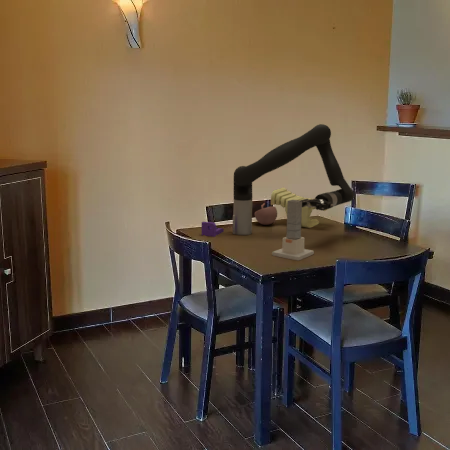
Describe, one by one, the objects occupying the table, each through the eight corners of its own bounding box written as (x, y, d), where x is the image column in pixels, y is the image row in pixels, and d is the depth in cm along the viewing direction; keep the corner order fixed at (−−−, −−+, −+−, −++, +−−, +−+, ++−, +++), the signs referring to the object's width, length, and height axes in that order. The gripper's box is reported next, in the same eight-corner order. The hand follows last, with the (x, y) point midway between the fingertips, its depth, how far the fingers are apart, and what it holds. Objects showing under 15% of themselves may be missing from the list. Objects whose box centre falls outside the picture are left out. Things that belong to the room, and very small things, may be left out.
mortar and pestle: (267, 221, 315) (267, 200, 313) (281, 225, 306) (282, 204, 303) (249, 224, 308) (250, 202, 306) (264, 228, 299) (264, 206, 296)
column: (294, 253, 245) (296, 202, 240) (285, 251, 248) (287, 200, 243) (300, 250, 249) (302, 200, 244) (291, 249, 251) (293, 199, 247)
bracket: (214, 237, 280) (214, 223, 278) (201, 236, 282) (201, 222, 281) (223, 232, 291) (223, 218, 289) (211, 230, 293) (211, 217, 292)
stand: (298, 260, 240) (298, 243, 238) (272, 255, 247) (272, 238, 246) (313, 254, 250) (314, 237, 248) (288, 249, 257) (288, 232, 256)
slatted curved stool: (270, 224, 308) (271, 191, 304) (283, 218, 321) (284, 187, 317) (323, 231, 293) (324, 196, 289) (334, 225, 306) (336, 192, 303)
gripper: (312, 191, 269) (294, 196, 256) (340, 194, 260) (322, 199, 248) (312, 207, 270) (294, 212, 258) (339, 210, 262) (322, 216, 249)
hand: (308, 206), depth 253 cm, fingers open, 8 cm apart
